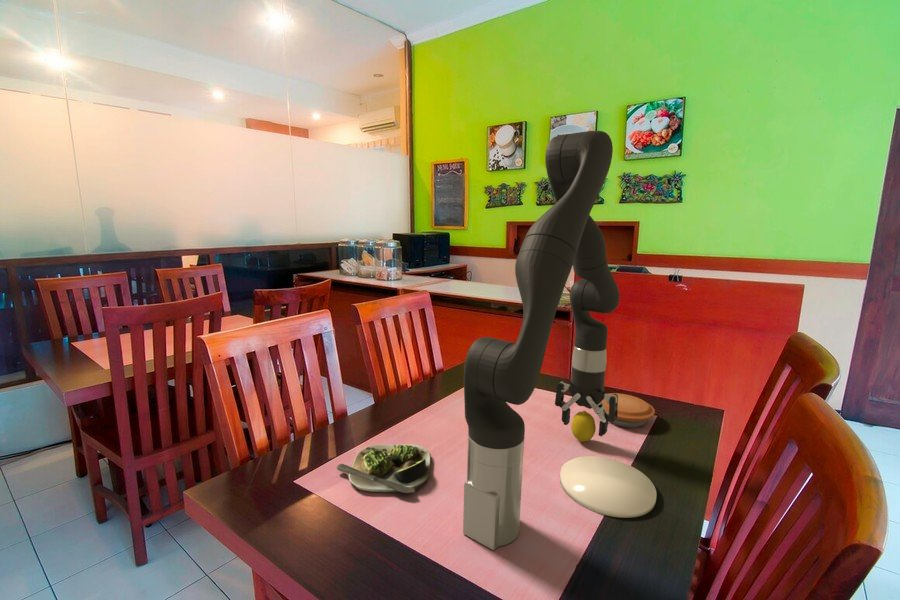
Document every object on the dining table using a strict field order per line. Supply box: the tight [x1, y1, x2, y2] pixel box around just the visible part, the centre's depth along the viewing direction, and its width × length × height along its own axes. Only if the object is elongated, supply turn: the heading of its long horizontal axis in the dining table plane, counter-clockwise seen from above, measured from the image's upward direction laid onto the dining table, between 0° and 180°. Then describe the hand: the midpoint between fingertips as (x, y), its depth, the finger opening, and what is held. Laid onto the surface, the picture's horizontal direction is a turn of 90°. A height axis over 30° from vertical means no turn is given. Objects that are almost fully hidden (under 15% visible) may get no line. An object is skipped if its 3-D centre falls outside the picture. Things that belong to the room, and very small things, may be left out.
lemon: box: [571, 410, 597, 443], centre depth 99 cm, size 6×6×8 cm
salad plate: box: [336, 443, 432, 494], centre depth 87 cm, size 19×18×5 cm
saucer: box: [559, 455, 657, 519], centre depth 83 cm, size 18×18×1 cm
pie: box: [597, 392, 656, 428], centre depth 113 cm, size 16×16×5 cm
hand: (583, 429), depth 100 cm, fingers open, 8 cm apart
